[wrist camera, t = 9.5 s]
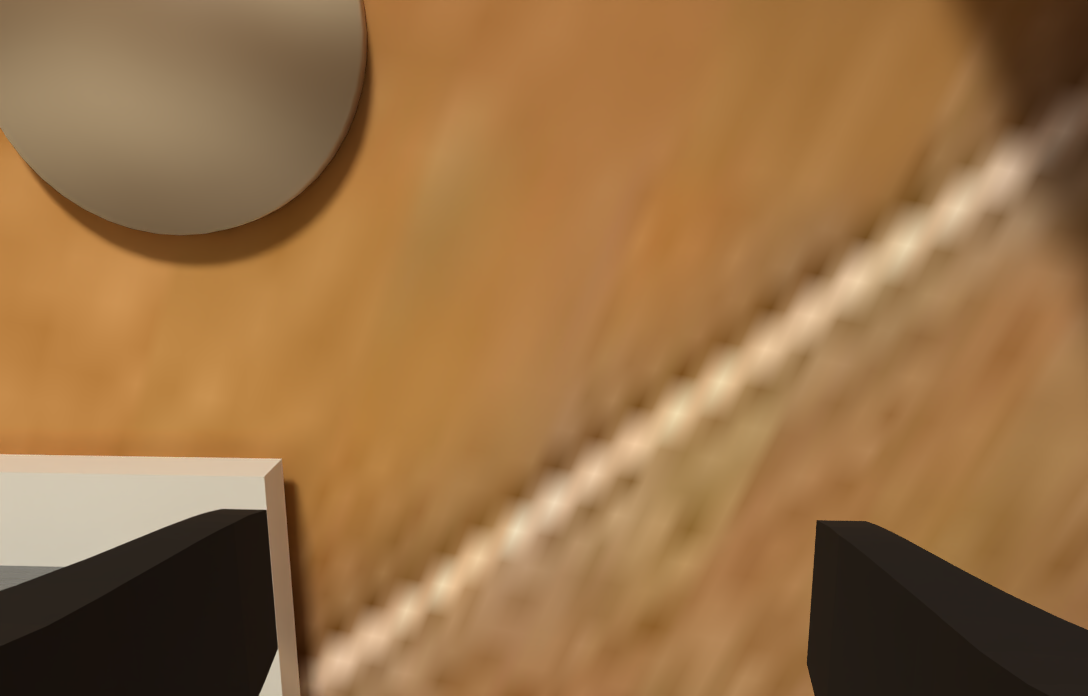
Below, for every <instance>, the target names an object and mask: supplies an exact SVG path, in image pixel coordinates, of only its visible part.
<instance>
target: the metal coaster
mask: <svg viewBox="0 0 1088 696" xmlns="http://www.w3.org/2000/svg"><path fill="white" fill-rule="evenodd" d="M366 62H367V28H366V19H365V9H364V3H363V0H0V127H1V129H2V131H3V132H4V134H5V136H6V137H7V139H8V140H9V141H10V143H11V144H12V145H13V146H14V148H15V149H16V150H17V152H18V153H19V154H20V156H21V157H22V158H23V159H24V160H25V161H26V162H27V163H28V165H29V166H30V167H31V168H32V169H33V170H34V171H35V172H36V173H37V174H38V175H39V176H40V177H41V178H42V179H43V180H44V181H46V182H47V183H48V184H49V185H51V186H52V187H53V188H54V189H55V190H57V191H58V192H59V193H60V194H62V195H63V196H64V197H66V198H68V199H69V200H71V201H72V202H74V203H75V204H77V205H78V206H80V207H82V208H83V209H85V210H87V211H89V212H91V213H93V214H95V215H97V216H99V217H101V218H103V219H105V220H108V221H110V222H113V223H116V224H119V225H122V226H125V227H128V228H131V229H136V230H141V231H146V232H151V233H156V234H169V235H192V234H206V233H211V232H215V231H220V230H225V229H230V228H234V227H238V226H241V225H244V224H247V223H249V222H252V221H255V220H258V219H260V218H263V217H264V216H266V215H268V214H270V213H272V212H274V211H276V210H278V209H280V208H281V207H283V206H284V205H286V204H287V203H288V202H290V201H291V200H293V199H294V198H295V197H297V196H298V195H300V194H301V193H302V192H303V191H304V190H305V189H306V188H307V187H308V186H309V185H310V184H311V183H312V182H313V181H314V180H315V179H317V178H318V177H319V175H320V174H321V173H322V172H323V170H324V169H325V168H326V166H327V165H328V164H329V163H330V161H331V160H332V159H333V157H334V156H335V154H336V152H337V151H338V149H339V147H340V146H341V144H342V142H343V140H344V139H345V137H346V135H347V133H348V130H349V128H350V126H351V123H352V121H353V118H354V116H355V114H356V111H357V107H358V103H359V100H360V96H361V92H362V89H363V84H364V76H365V69H366Z"/></svg>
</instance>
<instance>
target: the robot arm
mask: <svg viewBox="0 0 1088 696" xmlns="http://www.w3.org/2000/svg"><path fill="white" fill-rule="evenodd" d="M277 650H278V641H277V629H276V617H275V605H274V593H273V581H272V569H271V557H270V545H269V533H268V521H267V510H254V509H219V510H215V511H210V512H206V513H203V514H199V515H196V516H193V517H190V518H188V519H185V520H182V521H179V522H177V523H174V524H172V525H169V526H166V527H164V528H161V529H159V530H156V531H154V532H151V533H149V534H146V535H144V536H142V537H139V538H137V539H134V540H132V541H129V542H127V543H124V544H122V545H119V546H117V547H115V548H112V549H110V550H107V551H105V552H102V553H100V554H97V555H95V556H92V557H90V558H87V559H85V560H82V561H79V562H77V563H74V564H71V565H69V566H66V567H63V568H61V569H58V570H55V571H53V572H50V573H47V574H45V575H42V576H39V577H37V578H34V579H31V580H29V581H26V582H23V583H21V584H18V585H15V586H12V587H10V588H7V589H4V590H1V591H0V696H259V694H260V692H261V690H262V687H263V685H264V683H265V680H266V678H267V675H268V673H269V670H270V668H271V665H272V663H273V660H274V657H275V655H276V652H277ZM807 666H808V670H809V674H810V678H811V682H812V686H813V690H814V695H815V696H1088V630H1086V629H1084V628H1082V627H1079V626H1077V625H1075V624H1072V623H1070V622H1068V621H1065V620H1063V619H1061V618H1058V617H1056V616H1054V615H1052V614H1050V613H1048V612H1046V611H1044V610H1041V609H1039V608H1037V607H1035V606H1033V605H1031V604H1029V603H1027V602H1024V601H1022V600H1020V599H1018V598H1016V597H1014V596H1012V595H1010V594H1008V593H1006V592H1004V591H1002V590H1000V589H998V588H996V587H994V586H992V585H990V584H988V583H986V582H984V581H982V580H980V579H978V578H976V577H975V576H973V575H971V574H969V573H967V572H965V571H963V570H961V569H960V568H958V567H956V566H954V565H952V564H950V563H948V562H947V561H945V560H943V559H941V558H939V557H937V556H936V555H934V554H932V553H930V552H928V551H926V550H925V549H923V548H921V547H919V546H917V545H915V544H914V543H912V542H910V541H908V540H906V539H904V538H902V537H900V536H898V535H896V534H894V533H892V532H891V531H888V530H886V529H884V528H882V527H880V526H877V525H875V524H872V523H869V522H866V521H823V520H817V525H816V539H815V554H814V568H813V583H812V597H811V612H810V626H809V641H808V655H807Z"/></svg>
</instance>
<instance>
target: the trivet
mask: <svg viewBox="0 0 1088 696" xmlns="http://www.w3.org/2000/svg"><path fill="white" fill-rule="evenodd" d="M219 509H254V510H267V521H268V533H269V545H270V557H271V569H272V581H273V593H274V605H275V617H276V629H277V641H278V650H277V652H276V655H275V657H274V660H273V663H272V665H271V668H270V670H269V673H268V675H267V678H266V680H265V683H264V685H263V687H262V690H261V692H260V694H259V696H300V684H299V672H298V659H297V646H296V633H295V620H294V607H293V595H292V582H291V569H290V556H289V543H288V530H287V518H286V505H285V492H284V479H283V466H282V459H264V458H201V457H137V456H74V455H10V454H0V565H2V566H49V567H66V566H69V565H71V564H74V563H77V562H79V561H82V560H85V559H87V558H90V557H92V556H95V555H97V554H100V553H102V552H105V551H107V550H110V549H112V548H115V547H117V546H119V545H122V544H124V543H127V542H129V541H132V540H134V539H137V538H139V537H142V536H144V535H146V534H149V533H151V532H154V531H156V530H159V529H161V528H164V527H166V526H169V525H172V524H174V523H177V522H179V521H182V520H185V519H188V518H190V517H193V516H196V515H199V514H203V513H206V512H210V511H215V510H219Z"/></svg>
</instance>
